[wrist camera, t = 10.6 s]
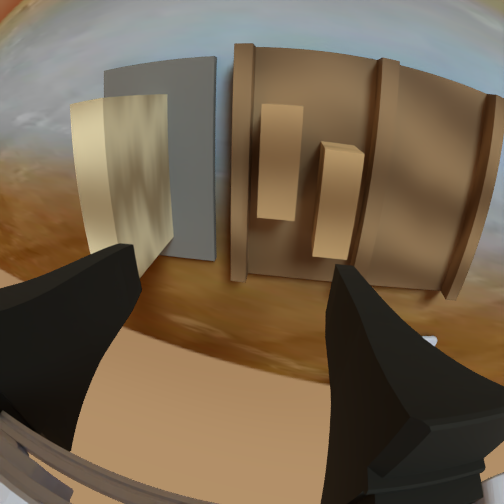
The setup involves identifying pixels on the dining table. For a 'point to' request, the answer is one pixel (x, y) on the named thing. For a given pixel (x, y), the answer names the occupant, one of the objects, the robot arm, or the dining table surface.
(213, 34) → the dining table surface
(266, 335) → the dining table surface
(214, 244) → the charcoal mat
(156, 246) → the birch panel
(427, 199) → the walnut rack
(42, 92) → the dining table surface
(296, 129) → the teak offcut
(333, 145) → the teak offcut
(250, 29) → the dining table surface
